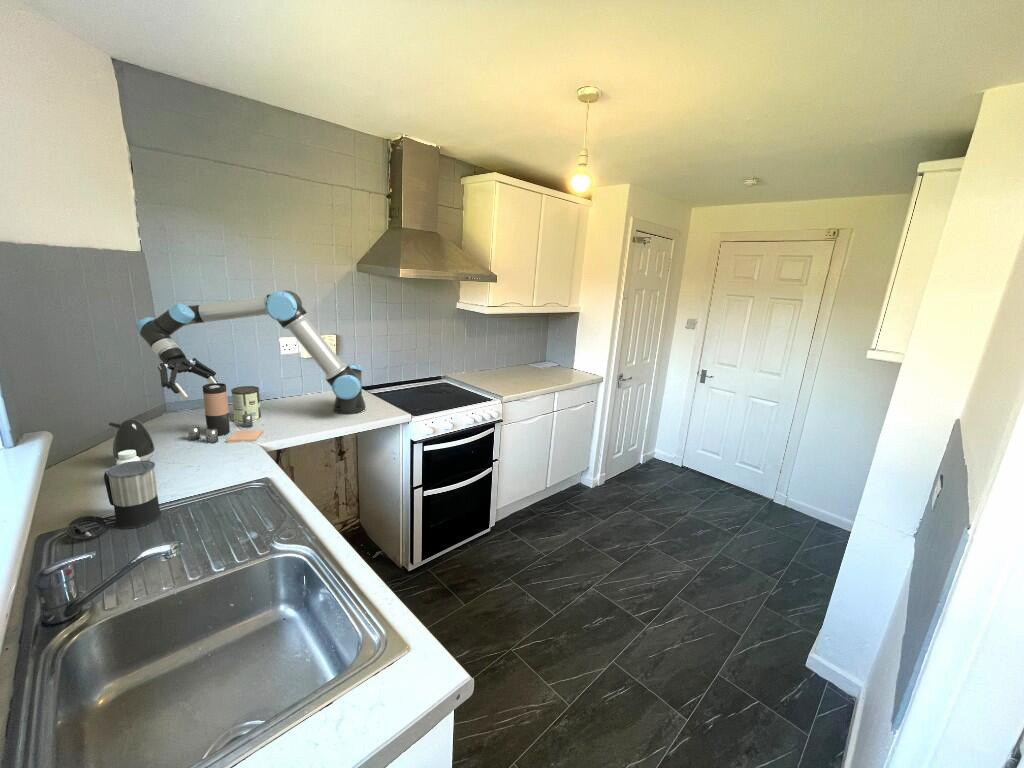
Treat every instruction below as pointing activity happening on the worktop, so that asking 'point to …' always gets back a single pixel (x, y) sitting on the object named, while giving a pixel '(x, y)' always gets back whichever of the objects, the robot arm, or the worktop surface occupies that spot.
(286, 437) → the worktop surface
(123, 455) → the supplement bottle
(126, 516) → the milk frother
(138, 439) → the pump dispenser
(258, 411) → the coffee can
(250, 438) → the terracotta tile
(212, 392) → the travel mug
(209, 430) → the spacer posts
